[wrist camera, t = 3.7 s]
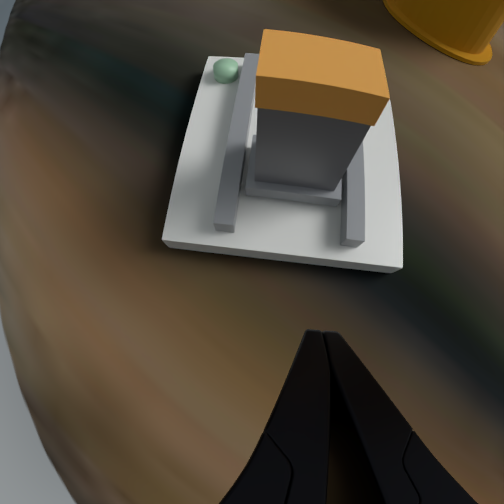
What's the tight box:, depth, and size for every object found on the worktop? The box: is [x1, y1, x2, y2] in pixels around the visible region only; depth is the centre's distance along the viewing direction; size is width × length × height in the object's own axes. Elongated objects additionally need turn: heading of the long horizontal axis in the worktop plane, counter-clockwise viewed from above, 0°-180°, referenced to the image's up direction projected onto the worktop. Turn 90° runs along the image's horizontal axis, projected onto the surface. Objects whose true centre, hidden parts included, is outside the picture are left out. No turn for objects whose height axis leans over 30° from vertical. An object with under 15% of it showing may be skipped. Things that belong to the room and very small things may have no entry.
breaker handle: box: [245, 29, 390, 207], centre depth 16 cm, size 4×6×10 cm, turn 83°
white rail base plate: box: [162, 53, 403, 273], centre depth 22 cm, size 17×16×4 cm
